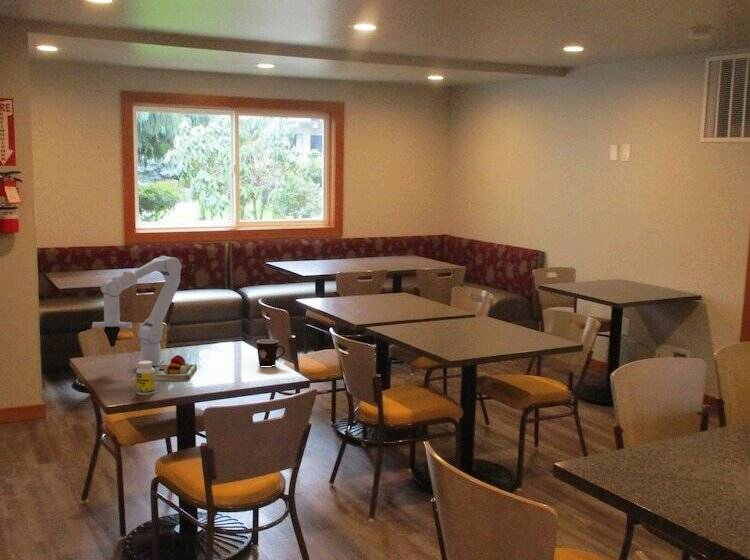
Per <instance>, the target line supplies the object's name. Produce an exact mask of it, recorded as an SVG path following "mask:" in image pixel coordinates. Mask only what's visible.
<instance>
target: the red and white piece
mask: <svg viewBox="0 0 750 560" xmlns="http://www.w3.org/2000/svg"><path fill="white" fill-rule="evenodd" d="M168 364H169V365H167V366H165V368H164V370H163V372H164V374H187V372H188V371H189V370H190V368H191V366H190V364H191V363H189V362H186V360H185V358H184V357H183V356H181V355H179V354H177V355H174V356H173V357H172V358H171V359H170V363H168Z"/></svg>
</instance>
